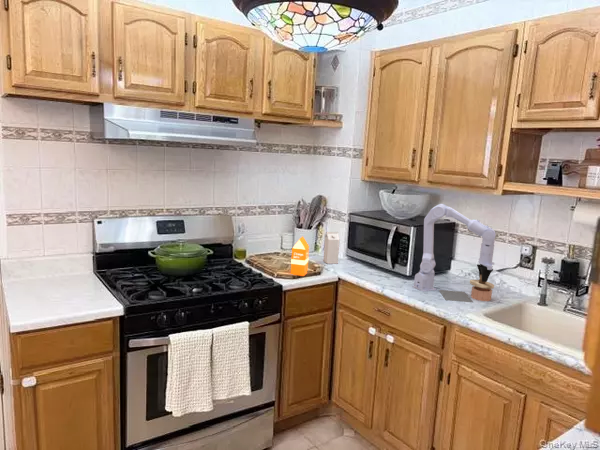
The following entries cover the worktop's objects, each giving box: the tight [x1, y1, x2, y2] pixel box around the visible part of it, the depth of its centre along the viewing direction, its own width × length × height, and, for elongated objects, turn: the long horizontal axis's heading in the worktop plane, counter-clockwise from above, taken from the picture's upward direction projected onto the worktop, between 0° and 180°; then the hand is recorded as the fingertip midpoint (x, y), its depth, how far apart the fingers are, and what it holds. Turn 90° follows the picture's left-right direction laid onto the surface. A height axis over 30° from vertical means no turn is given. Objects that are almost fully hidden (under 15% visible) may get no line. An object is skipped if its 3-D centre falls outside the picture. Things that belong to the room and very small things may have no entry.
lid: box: [469, 274, 495, 290], centre depth 217 cm, size 11×11×5 cm
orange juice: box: [290, 235, 310, 277], centre depth 244 cm, size 8×9×20 cm
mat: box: [438, 289, 474, 303], centre depth 219 cm, size 13×16×1 cm
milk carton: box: [323, 231, 341, 265], centre depth 271 cm, size 7×7×19 cm
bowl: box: [470, 285, 493, 302], centre depth 218 cm, size 9×9×5 cm
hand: (483, 280), depth 217 cm, fingers closed on lid, 3 cm apart
